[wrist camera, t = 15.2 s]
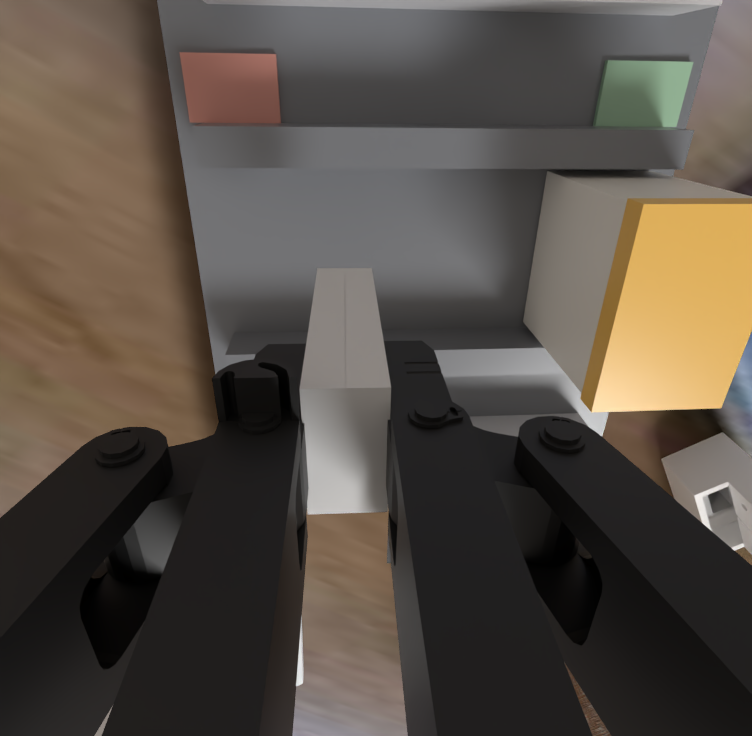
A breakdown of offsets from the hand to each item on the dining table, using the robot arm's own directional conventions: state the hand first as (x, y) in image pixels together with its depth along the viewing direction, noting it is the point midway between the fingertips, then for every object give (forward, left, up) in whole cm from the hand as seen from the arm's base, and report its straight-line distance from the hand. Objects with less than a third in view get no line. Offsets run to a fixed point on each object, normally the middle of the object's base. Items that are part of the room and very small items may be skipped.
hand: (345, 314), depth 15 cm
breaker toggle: (-10, 0, -6) cm, 11 cm away
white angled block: (-21, +15, -9) cm, 28 cm away
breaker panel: (-3, 0, -9) cm, 10 cm away
